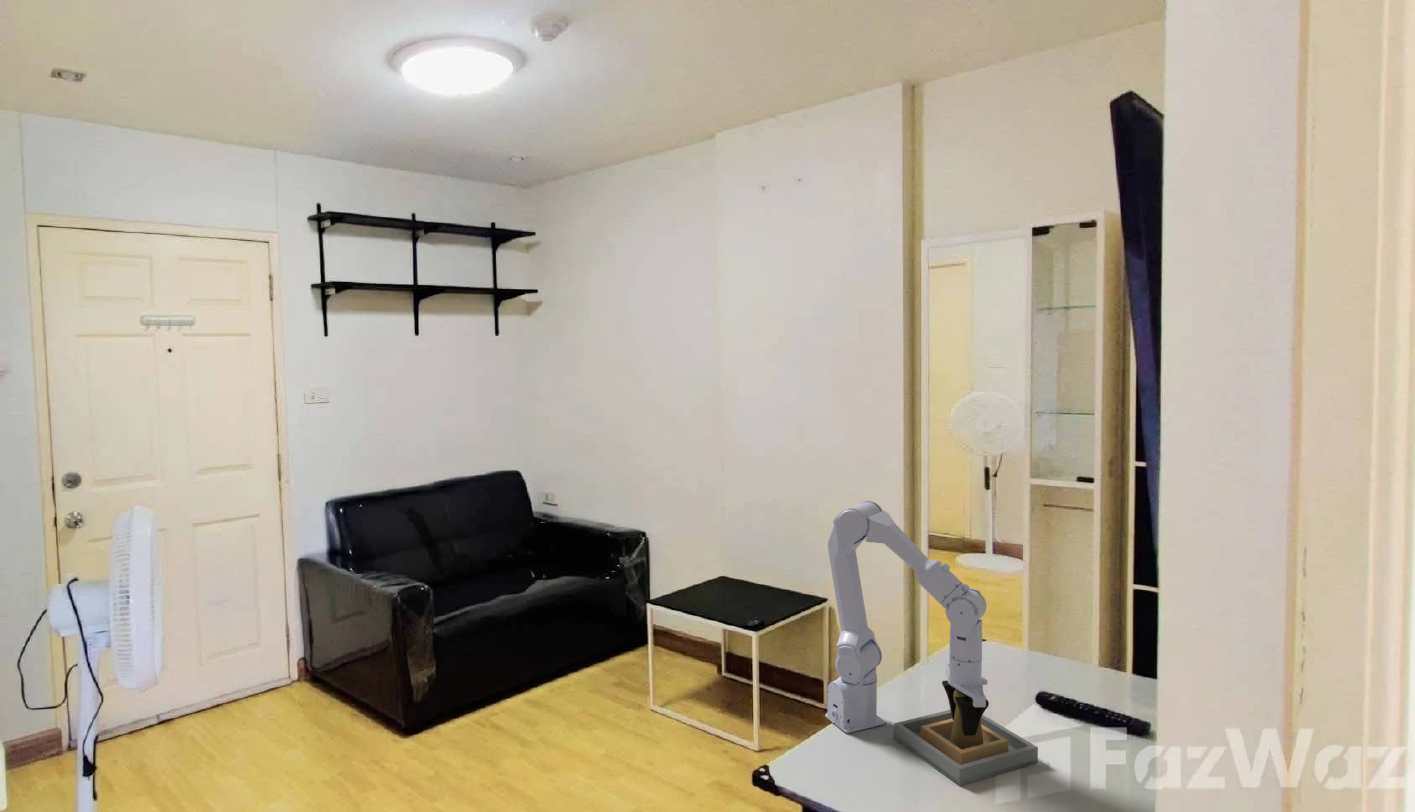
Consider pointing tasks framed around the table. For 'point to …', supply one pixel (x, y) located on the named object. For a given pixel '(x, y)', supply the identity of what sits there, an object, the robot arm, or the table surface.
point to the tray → (971, 763)
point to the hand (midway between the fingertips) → (964, 727)
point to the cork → (957, 731)
